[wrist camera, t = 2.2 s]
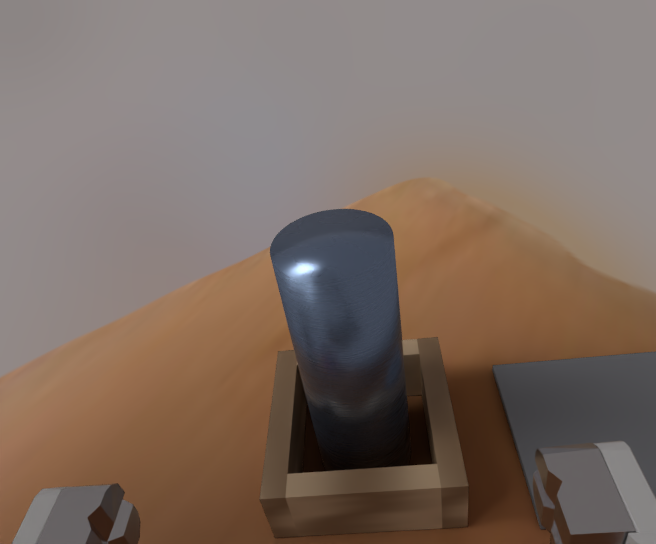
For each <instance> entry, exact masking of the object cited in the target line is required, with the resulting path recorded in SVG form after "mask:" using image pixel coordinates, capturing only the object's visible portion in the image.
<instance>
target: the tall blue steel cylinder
mask: <svg viewBox="0 0 656 544" xmlns="http://www.w3.org/2000/svg"><path fill="white" fill-rule="evenodd" d="M270 255H271V260H272V264H273V268H274V272H275V276H276V280H277V284H278V288H279V292H280V295H281V299H282V303H283V307H284V311H285V315H286V319H287V323H288V327H289V331H290V335H291V339H292V343H293V347H294V351H295V355H296V359H297V363H298V367H299V371H300V375H301V379H302V383H303V387H304V391H305V395H306V399H307V403H308V407H309V411H310V415H311V419H312V423H313V427H314V431H315V434H316V438H317V442H318V446H319V450H320V454H321V458H322V462H323V465H324V468H325V470H326V471H338V470H353V469H368V468H383V467H398V466H408V464H409V461H410V458H411V439H410V427H409V415H408V404H407V392H406V380H405V368H404V356H403V344H402V332H401V320H400V308H399V296H398V284H397V272H396V261H395V249H394V237H393V231H392V229H391V227H390V226H389V224H388V223H387V222H386V221H385V220H383V219H382V218H380V217H379V216H377V215H375V214H372V213H369V212H366V211H361V210H354V209H336V210H326V211H321V212H317V213H313V214H310V215H307V216H304V217H302V218H300V219H298V220H296V221H294V222H292V223H290V224H289V225H287V226H286V227H285V228H284V229H282V230H281V231H280V232H279V233H278V234H277V235H276V237H275V238H274V240H273V242H272V244H271V247H270Z"/></svg>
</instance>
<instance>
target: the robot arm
mask: <svg viewBox="0 0 656 544" xmlns="http://www.w3.org/2000/svg"><path fill="white" fill-rule="evenodd" d="M535 462H536V465H537V468H538V470H537V471H536V472H534V473H533V492H534V500H535V504H536V508H537V512H538V515H539V519H540V522H541V525H542V526H543V527H544V528H546V529H547V530H548V531H549V532H550V533H551V535H550V543H549V544H656V497H655V495H654V493H653V491H652V489H651V487H650V486H649V484H648V482H647V480H646V478H645V476H644V474H643V472H642V470H641V468H640V466H639V464H638V462H637V460H636V458H635V456H634V454H633V452H632V450H631V448H630V447H629V446H628V445H627V444H626V443H625V442H624V441H612V442H601V443H584V444H574V445H564V446H554V447H544V448H538V449H537V450H536V453H535ZM124 493H125V492H124V491H123V489H122V488H121V487H120V486H119V484H118V483H115V484H102V485H89V486H76V487H59V488H48V489H42V490H41V491H40V492H39V493H38V494H37V495H36V496H35V498H34V499H33V501H32V503H31V505H30V507H29V510H28V512H27V514H26V516H25V518H24V520H23V522H22V524H21V526H20V528H19V530H18V532H17V534H16V536H15V538H14V540H13V542H12V544H138V541H139V537H140V518H139V514H138V511H137V510H136V508H135V506H134V505H133V504H131V503H129V502H127V501H125V500H123V496H124Z"/></svg>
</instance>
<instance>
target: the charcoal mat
mask: <svg viewBox="0 0 656 544" xmlns="http://www.w3.org/2000/svg"><path fill="white" fill-rule="evenodd" d="M492 370H493V374H494V377H495V380H496V383H497V387H498V390H499V393H500V397H501V400H502V403H503V407H504V410H505V413H506V417H507V420H508V423H509V426H510V430H511V433H512V436H513V440H514V443H515V446H516V450H517V453H518V456H519V460H520V463H521V466H522V469H523V473H524V476H525V479H526V483H527V486H528V489H529V493H530V496H531V499H532V503H533V506H534V509H535V512H536V516H537V519H538V522H539V526H540V529H546V528H544V527H543V526H542V525H541V522H540V519H539V515H538V512H537V508H536V504H535V500H534V492H533V473H534V472H536V471H537V470H538V468H537V465H536V462H535V453H536V450H537V449H538V448H544V447H554V446H564V445H574V444H584V443H601V442H612V441H624V442H625V443H626V444H627V445H628V446H629V447H630V448H631V450H632V452H633V454H634V456H635V458H636V460H637V462H638V464H639V466H640V468H641V470H642V472H643V474H644V476H645V478H646V480H647V482H648V484H649V486H650V487H651V489H652V491H653V493H654V495H655V497H656V352H646V353H634V354H622V355H610V356H598V357H586V358H575V359H563V360H551V361H539V362H527V363H515V364H503V365H493V368H492Z"/></svg>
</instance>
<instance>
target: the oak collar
mask: <svg viewBox="0 0 656 544" xmlns="http://www.w3.org/2000/svg"><path fill="white" fill-rule="evenodd" d="M402 344H403V356H404V368H405V380H406V392H407V396H414V395H422V400H423V407H424V413H425V420H426V426H427V433H428V439H429V446H430V452H431V459H432V464H427V465H412V466H398V467H383V468H368V469H353V470H338V471H324V472H309V473H303V457H304V441H305V424H306V408H307V404H308V403H307V399H306V395H305V391H304V387H303V383H302V379H301V375H300V371H299V367H298V363H297V359H296V355H295V351H294V350H289V351H278V357H277V364H276V372H275V380H274V388H273V396H272V404H271V412H270V420H269V428H268V436H267V444H266V452H265V460H264V468H263V476H262V484H261V492H260V502H261V504H262V507H263V509H264V512H265V514H266V517H267V519H268V522H269V524H270V527H271V529H272V532H273V534H274V537H275V538H280V537H298V536H316V535H334V534H352V533H370V532H387V531H405V530H423V529H441V528H459V527H468V492H469V485H468V481H467V476H466V471H465V466H464V461H463V457H462V452H461V447H460V442H459V437H458V433H457V428H456V423H455V418H454V413H453V408H452V404H451V399H450V394H449V389H448V384H447V380H446V375H445V370H444V365H443V360H442V355H441V351H440V346H439V341H438V337H433V338H422V339H411V340H402Z"/></svg>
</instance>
